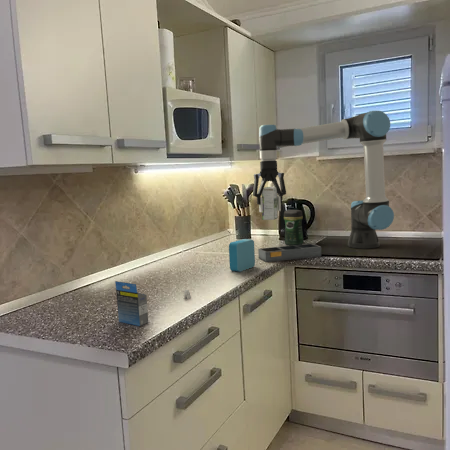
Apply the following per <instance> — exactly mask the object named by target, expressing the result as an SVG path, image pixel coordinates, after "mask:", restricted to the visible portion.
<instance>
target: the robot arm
mask: <svg viewBox="0 0 450 450" xmlns="http://www.w3.org/2000/svg"><path fill="white" fill-rule="evenodd" d="M390 129H391V120H390V117H389V115H388V114H386V113H385V112H384V111H381V110H369V111H367V112H364V113H360V114H356V115H354V116H352V117H348V118H343V119H341V120H340V121H337V122H330V123H325V124H319V125H318V124H317V125H312V126H305V127H300V128H286V129H285V128H284V129H283V128H282V129H279V128H277V125H276V124H262V125H260V126H259V131H258V132H259V133H258V135H259V136H258V139H259V159H260V163H259V164H260V165H259V167H260V168H259V169H260V171H259V173H254V174H253V178H254V180H253V181H254V182H253V190H252V196H253V197H256V205H258V206H259V207H258V210H259V211H258V212H259V213H262V212H263V200H262V192H263V189H264V188H265V187H266V184H267V182H272V184H273V187H276V188H277V210H278V212H281V210H282V206H281V205H282V204H283V196H284V195H287V189H286V184H285V178H284V176H285V173H284V172H279V171H278V161H277V159H278V154H277V153H278V150H277V148H279V149H280V148H281V149H282V148H286V147H297V146H302V145H305V144H310V143H317V142H323V141H329V140H334V139H337V140H338V139H341V138H342V139H343V140H349V139H359V143H360V145H362V146H363V158H364V160H363V163H364V181H365V185H364V186H365V198H364V199H363V200H354V201H352V202H351V204H350V222H351V223H350V224H351V228H350V234H349V237H348V240H347V247H349V248H352V249H360V250H361V249H364V250H365V249H376V248H379V247H380V239H379V237H378V235H377V230H378V231H383V230H386V229H387V228H389V227H390V226H391V225H392V223H393V222H394V220H395V213H394V211H393V209H392V208H391V207H390V199H389V198H388V197H386V196H387V195H386V182H385V180H386V179H385V160H384V159H385V158H384V156H385V155H384V144H385V142H386V141H387V134H388V132H389V131H390ZM277 177H278V180H277ZM260 178H261V181H260V185H259V180H260ZM278 181H279V183H278ZM279 185H280V186H279Z"/></svg>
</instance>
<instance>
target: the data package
mask: <svg viewBox="0 0 450 450" xmlns="http://www.w3.org/2000/svg"><path fill="white" fill-rule="evenodd" d="M228 258H229V261H228V263H229V270H230V271H232V272H237V273H238V272H244V271H246V269H247V270H249V268H250V269H253V268H254V267H255V265H256V257H255V241H254V239H248V238H243V239H239V240H235V241H231V242H229V244H228ZM252 267H253V268H252ZM243 270H244V271H243Z"/></svg>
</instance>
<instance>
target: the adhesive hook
mask: <svg viewBox="0 0 450 450" xmlns="http://www.w3.org/2000/svg"><path fill="white" fill-rule="evenodd" d="M181 292H182V293H183V297H184V298H183V299H186V298H187V300H189V299H192V294H191V292H190V290H189V289H184V290H182V291H181Z"/></svg>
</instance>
